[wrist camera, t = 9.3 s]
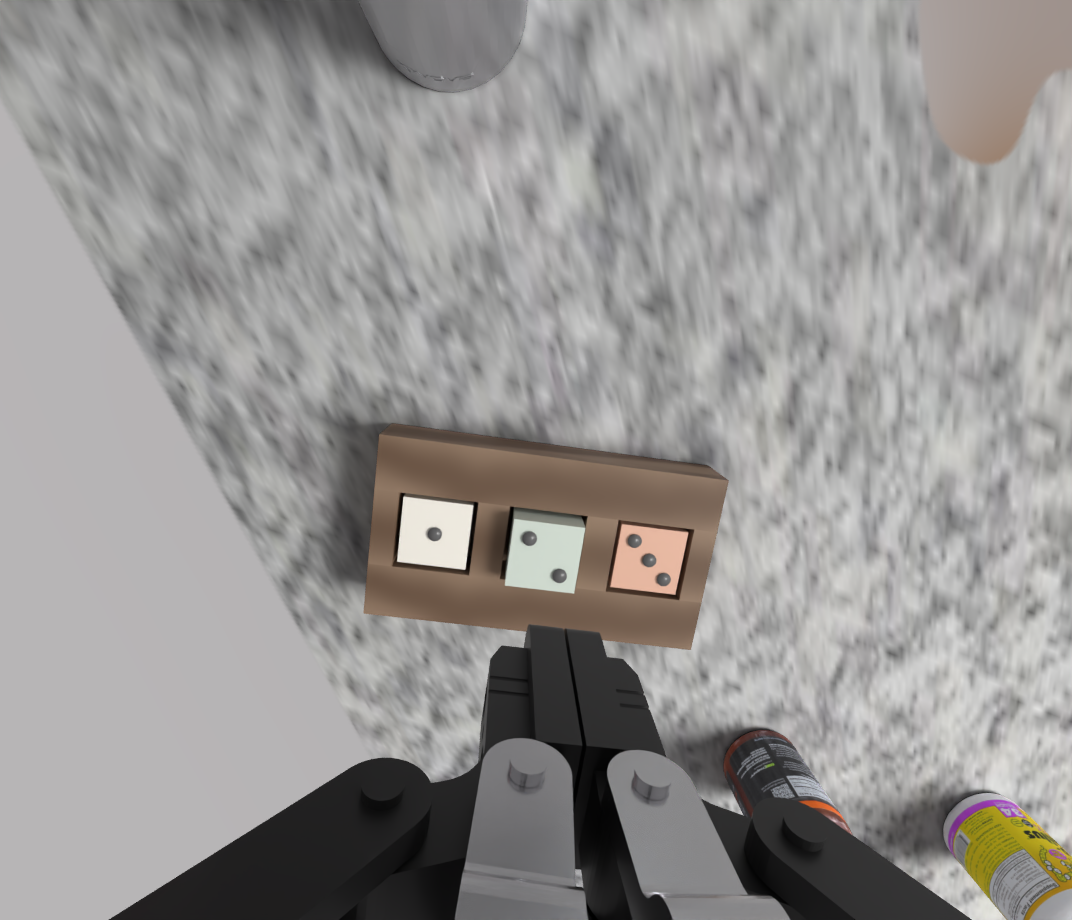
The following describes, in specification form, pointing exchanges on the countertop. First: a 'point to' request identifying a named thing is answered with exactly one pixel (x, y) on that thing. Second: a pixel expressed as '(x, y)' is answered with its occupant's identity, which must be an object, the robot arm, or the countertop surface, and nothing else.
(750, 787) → the supplement bottle
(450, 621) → the button panel
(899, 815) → the countertop surface
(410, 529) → the button
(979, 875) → the supplement bottle
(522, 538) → the button
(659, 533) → the button
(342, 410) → the countertop surface
